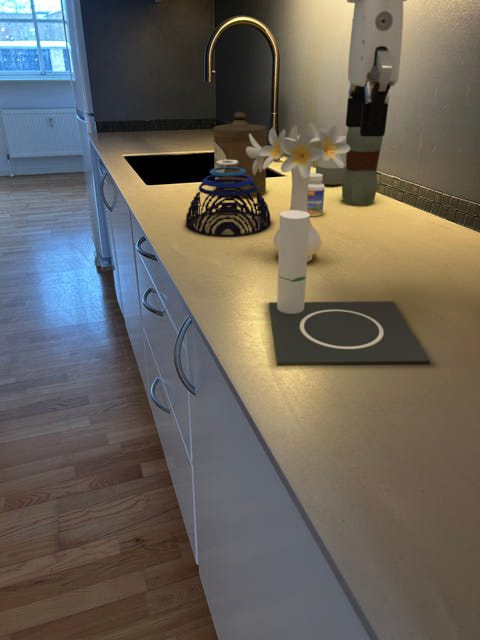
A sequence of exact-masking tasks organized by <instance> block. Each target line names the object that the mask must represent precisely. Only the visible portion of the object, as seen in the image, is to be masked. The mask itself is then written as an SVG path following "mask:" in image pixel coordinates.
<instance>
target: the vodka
mask: <svg viewBox="0 0 480 640" xmlns="http://www.w3.org/2000/svg"><path fill="white" fill-rule="evenodd" d="M372 90H373V88H371V92H372ZM345 137H346V143H347V144H348V145H349V146H350V151H349V152H347V153H346V170H345V175H344V179H343V183H342V184H341V196H342V202H343V204H345V205H348V206H352V207H353V206H354V207H367V206H370V205H372V204H373V203H374V201H375V198H376V194H377V191H378V164H379V159H380V154H381V149H382V145H383V139H384V136H370V137H363V136H361V135H360V127H347V133H346V136H345Z"/></svg>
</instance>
